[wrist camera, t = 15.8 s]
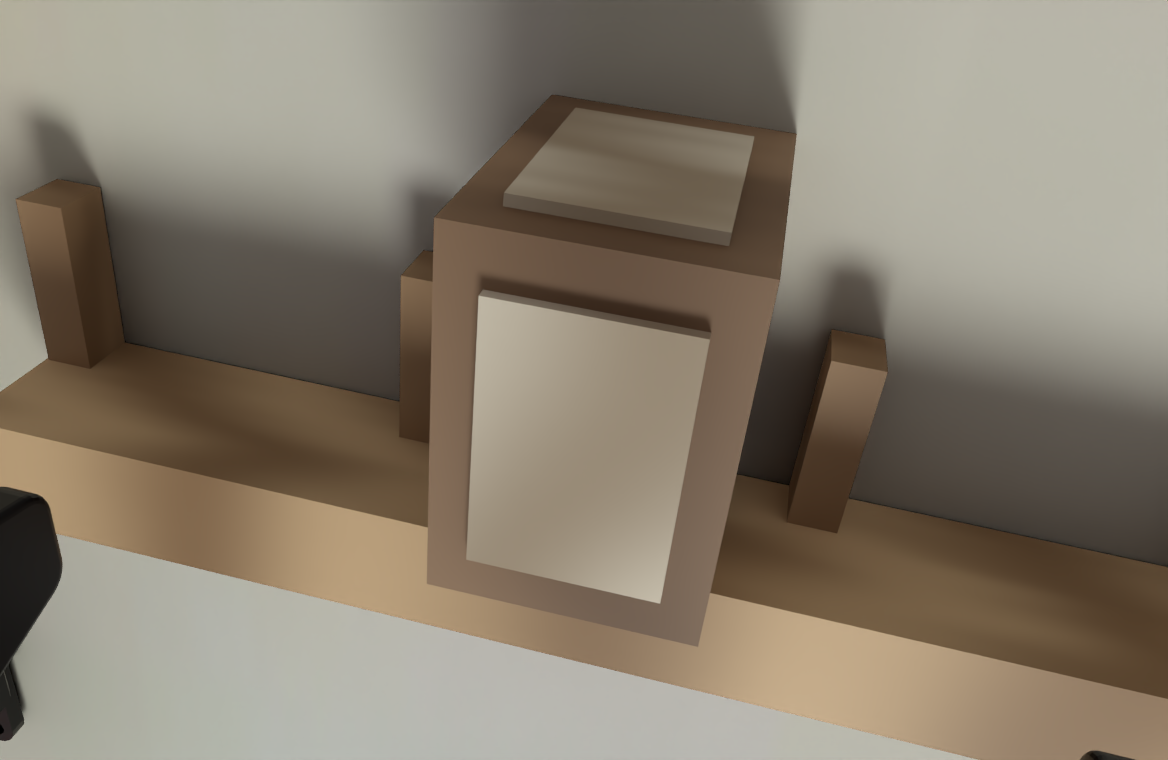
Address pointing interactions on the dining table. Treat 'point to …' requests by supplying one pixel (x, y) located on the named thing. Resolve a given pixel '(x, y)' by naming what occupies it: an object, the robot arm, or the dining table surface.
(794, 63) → the dining table surface
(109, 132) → the dining table surface
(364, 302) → the dining table surface
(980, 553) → the rail
